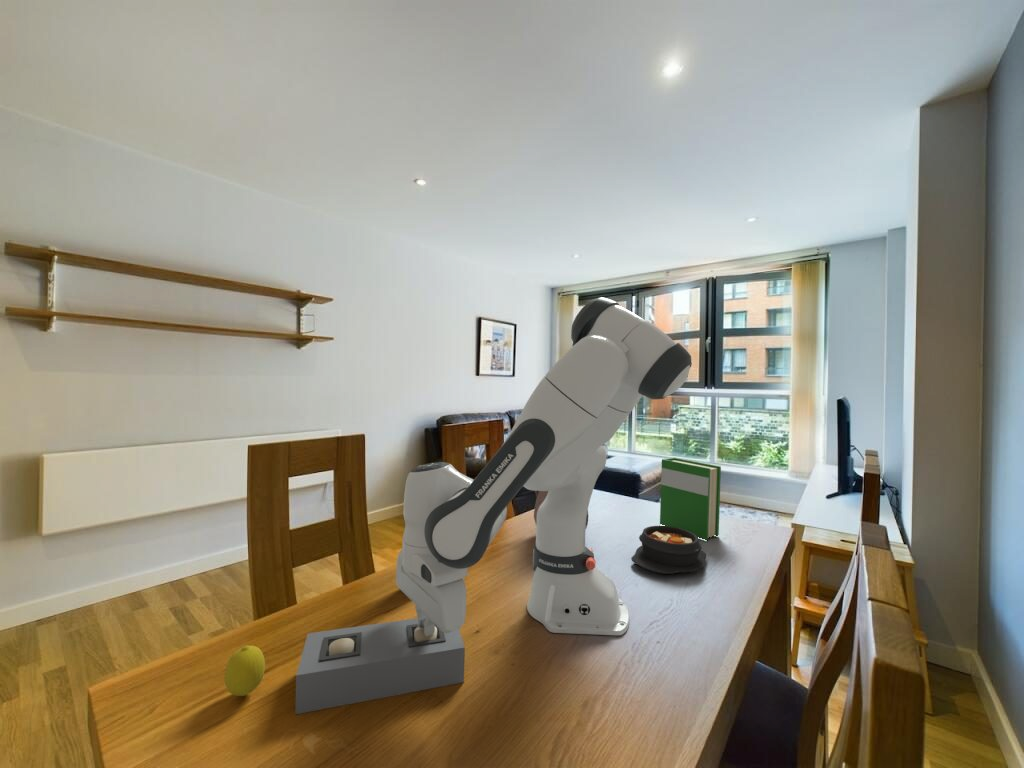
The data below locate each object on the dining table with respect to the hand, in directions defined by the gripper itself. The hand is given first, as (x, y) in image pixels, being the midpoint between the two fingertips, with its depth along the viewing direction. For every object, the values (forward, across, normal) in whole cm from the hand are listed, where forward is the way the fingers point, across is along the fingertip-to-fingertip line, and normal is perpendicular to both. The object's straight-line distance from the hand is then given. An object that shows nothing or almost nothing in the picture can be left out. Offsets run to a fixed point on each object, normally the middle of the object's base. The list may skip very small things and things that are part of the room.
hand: (426, 631), depth 76 cm
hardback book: (+7, -10, +105) cm, 106 cm away
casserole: (+7, 0, +76) cm, 77 cm away
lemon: (+7, -11, -26) cm, 29 cm away
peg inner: (+6, 0, 0) cm, 6 cm away
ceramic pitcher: (+7, -32, +62) cm, 71 cm away
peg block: (+7, -3, -6) cm, 10 cm away
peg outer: (+6, -5, -13) cm, 16 cm away
